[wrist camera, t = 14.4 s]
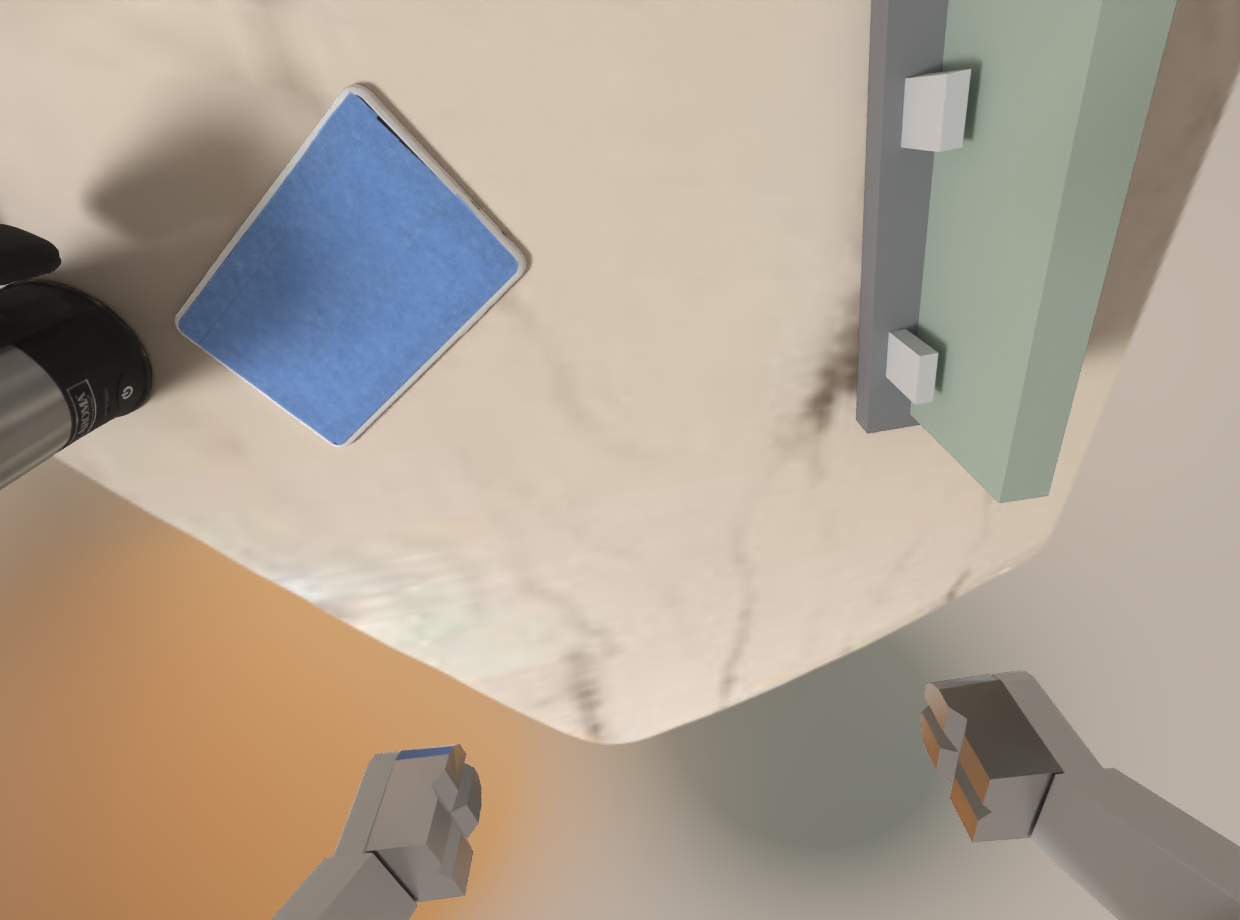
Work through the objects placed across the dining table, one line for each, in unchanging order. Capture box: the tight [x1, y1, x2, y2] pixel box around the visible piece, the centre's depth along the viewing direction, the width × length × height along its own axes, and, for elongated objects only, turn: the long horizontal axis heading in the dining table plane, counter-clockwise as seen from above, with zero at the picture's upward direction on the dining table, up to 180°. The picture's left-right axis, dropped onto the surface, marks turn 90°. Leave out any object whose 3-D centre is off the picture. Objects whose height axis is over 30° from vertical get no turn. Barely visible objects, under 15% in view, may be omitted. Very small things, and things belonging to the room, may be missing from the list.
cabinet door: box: [910, 0, 1177, 503], centre depth 27 cm, size 22×4×10 cm, turn 11°
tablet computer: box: [175, 84, 527, 447], centre depth 35 cm, size 19×13×1 cm, turn 131°
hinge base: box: [856, 0, 971, 434], centre depth 31 cm, size 24×8×6 cm, turn 11°
